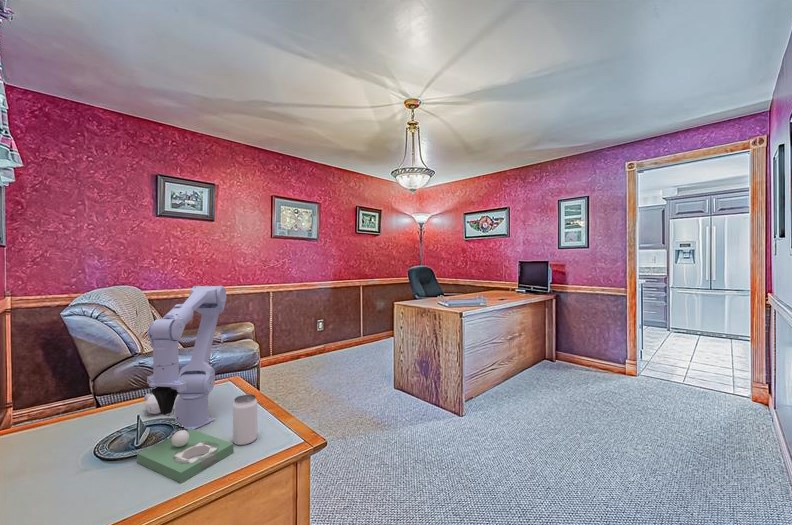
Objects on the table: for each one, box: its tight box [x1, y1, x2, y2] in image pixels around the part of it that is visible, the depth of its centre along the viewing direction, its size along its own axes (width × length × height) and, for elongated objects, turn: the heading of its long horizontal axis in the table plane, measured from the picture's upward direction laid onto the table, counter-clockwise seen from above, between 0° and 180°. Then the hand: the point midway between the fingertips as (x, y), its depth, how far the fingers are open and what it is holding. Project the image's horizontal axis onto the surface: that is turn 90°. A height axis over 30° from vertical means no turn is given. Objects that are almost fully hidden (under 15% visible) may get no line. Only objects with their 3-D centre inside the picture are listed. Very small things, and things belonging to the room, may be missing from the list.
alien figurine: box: [144, 393, 175, 417], centre depth 116 cm, size 7×7×12 cm
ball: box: [171, 429, 189, 447], centre depth 91 cm, size 4×4×4 cm
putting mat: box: [136, 429, 235, 484], centre depth 90 cm, size 18×14×2 cm
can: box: [232, 393, 259, 446], centre depth 99 cm, size 6×6×12 cm
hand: (166, 413), depth 94 cm, fingers closed
